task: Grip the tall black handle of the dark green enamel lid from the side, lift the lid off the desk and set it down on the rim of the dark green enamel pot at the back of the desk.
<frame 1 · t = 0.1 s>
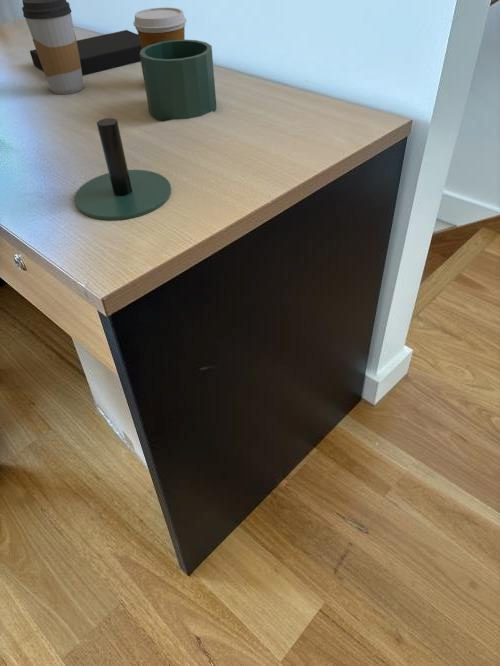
disposable coffee cup: (168, 85, 99), on the table
coffee cup: (68, 89, 99), on the table
lid: (123, 195, 67), point 1 cm above the table
pot: (183, 109, 89), on the table
external hard drive: (96, 62, 112), on the table
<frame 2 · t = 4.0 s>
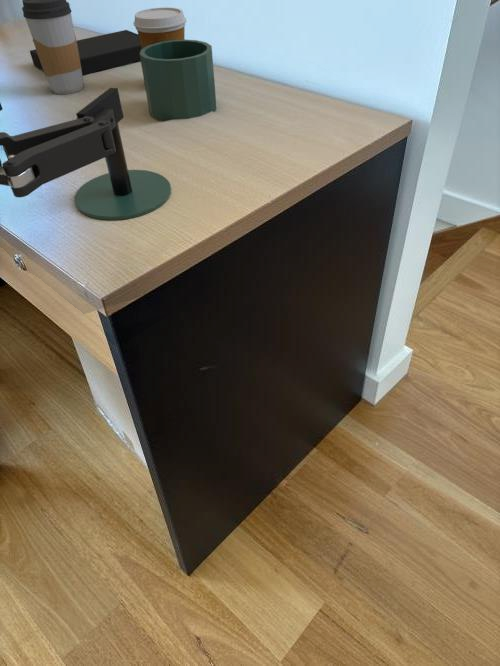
hand: (54, 98, 50), 16 cm above the table, tool horizontal, fingers open, 13 cm apart
nothing on the table moved.
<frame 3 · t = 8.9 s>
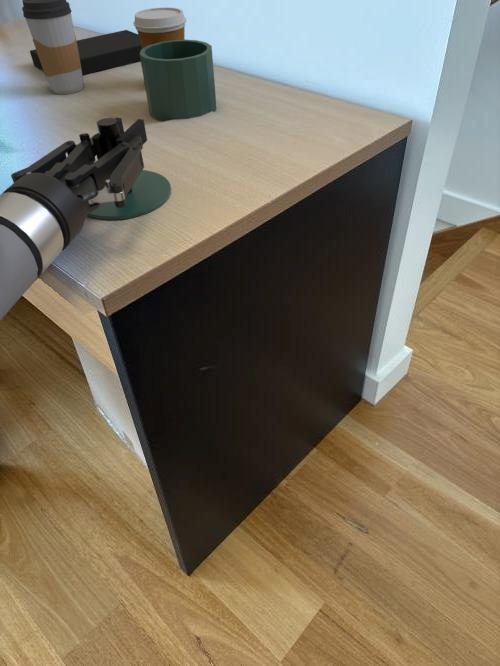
hand: (131, 129, 66), 7 cm above the table, tool horizontal, fingers closed on lid, 2 cm apart
lid: (123, 194, 67), point 1 cm above the table, touching gripper
everything else where it was.
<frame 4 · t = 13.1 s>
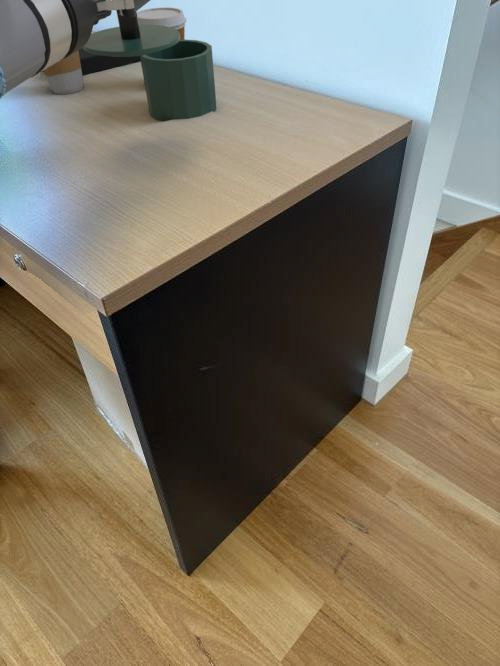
lid: (131, 41, 65), point 15 cm above the table, touching gripper
everything else where it was.
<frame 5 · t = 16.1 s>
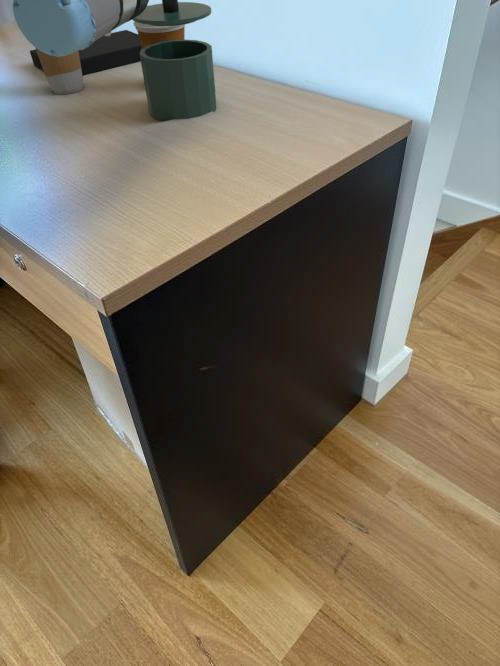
lid: (171, 14, 79), point 14 cm above the table, touching gripper
everything else where it was.
when the fingers open (16 cm above the table, at t = 17.7 s): lid stays where it is, resting on pot.
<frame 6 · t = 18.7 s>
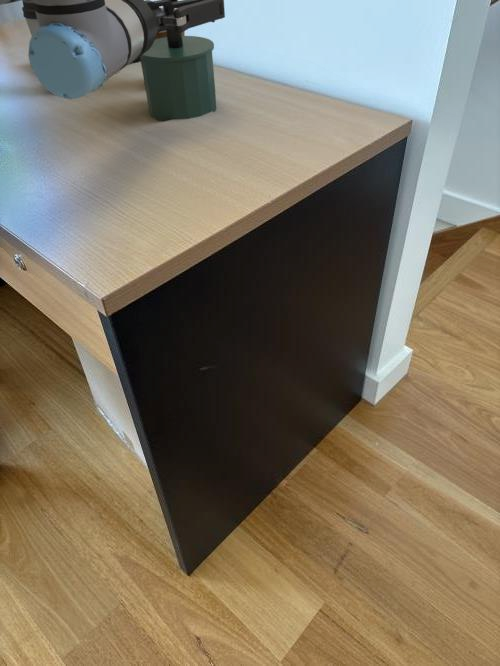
lid: (176, 49, 83), point 9 cm above the table, touching pot
everything else where it was.
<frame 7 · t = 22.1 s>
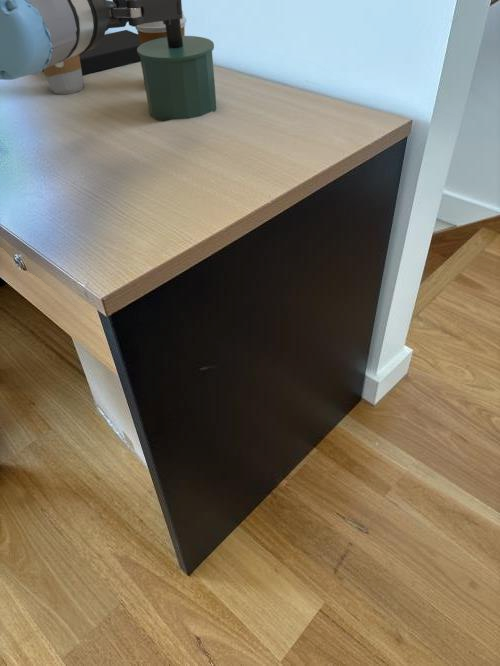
hand: (123, 2, 72), 18 cm above the table, tool horizontal, fingers open, 13 cm apart
nothing on the table moved.
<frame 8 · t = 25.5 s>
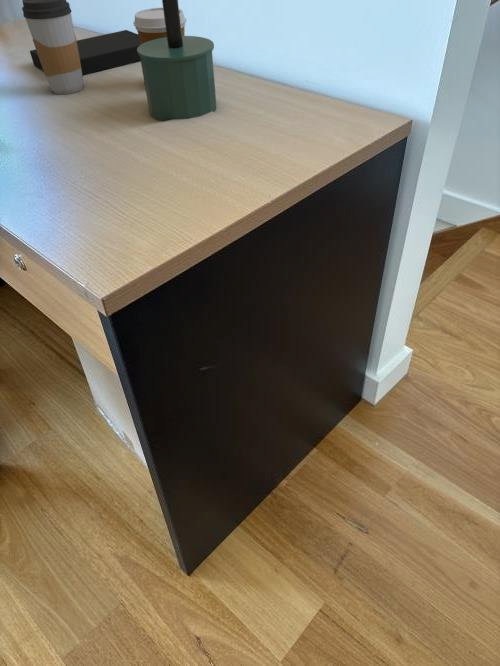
nothing on the table moved.
at the end: lid 0.0 cm off-centre on the pot, point 9.5 cm above the pot's base; lid tilted 0°; the gripper is holding nothing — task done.
